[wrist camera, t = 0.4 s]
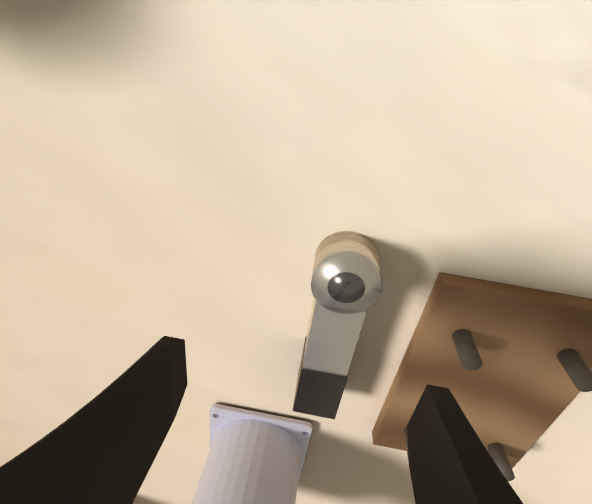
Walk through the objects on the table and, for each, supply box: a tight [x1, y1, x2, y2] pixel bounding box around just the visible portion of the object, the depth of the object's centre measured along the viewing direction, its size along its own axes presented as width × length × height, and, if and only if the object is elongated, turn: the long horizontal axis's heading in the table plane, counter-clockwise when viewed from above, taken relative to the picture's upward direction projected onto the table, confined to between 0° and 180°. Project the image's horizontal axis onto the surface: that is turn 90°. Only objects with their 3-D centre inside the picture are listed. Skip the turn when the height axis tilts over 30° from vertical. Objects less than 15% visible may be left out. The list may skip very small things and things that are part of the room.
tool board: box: [372, 273, 592, 481], centre depth 22 cm, size 15×10×3 cm, turn 173°
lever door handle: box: [293, 231, 382, 419], centre depth 21 cm, size 12×3×3 cm, turn 173°
